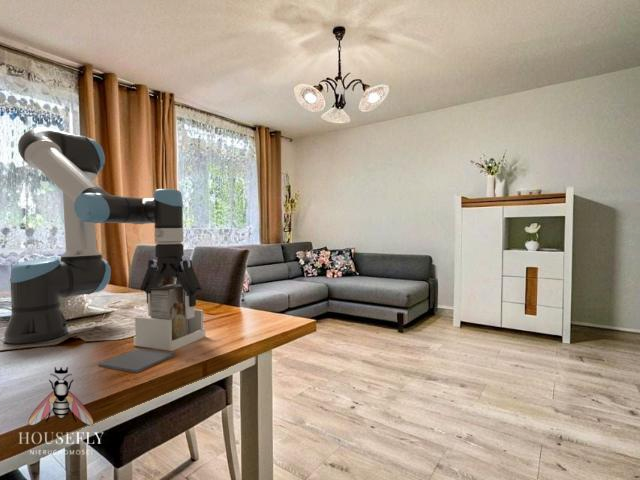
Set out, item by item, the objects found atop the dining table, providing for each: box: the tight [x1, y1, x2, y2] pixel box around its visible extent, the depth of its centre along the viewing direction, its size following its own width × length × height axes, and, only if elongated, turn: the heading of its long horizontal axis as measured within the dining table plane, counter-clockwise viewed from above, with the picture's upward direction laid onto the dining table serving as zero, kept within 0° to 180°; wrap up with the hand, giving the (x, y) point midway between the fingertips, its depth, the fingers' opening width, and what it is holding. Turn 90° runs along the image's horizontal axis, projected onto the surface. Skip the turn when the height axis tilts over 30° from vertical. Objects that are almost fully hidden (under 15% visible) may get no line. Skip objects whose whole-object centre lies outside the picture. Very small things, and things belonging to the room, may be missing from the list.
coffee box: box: [150, 283, 189, 341], centre depth 102 cm, size 9×6×16 cm
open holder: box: [132, 308, 206, 352], centre depth 102 cm, size 14×14×8 cm
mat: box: [98, 347, 177, 374], centre depth 87 cm, size 12×12×1 cm
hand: (171, 316), depth 102 cm, fingers open, 13 cm apart
